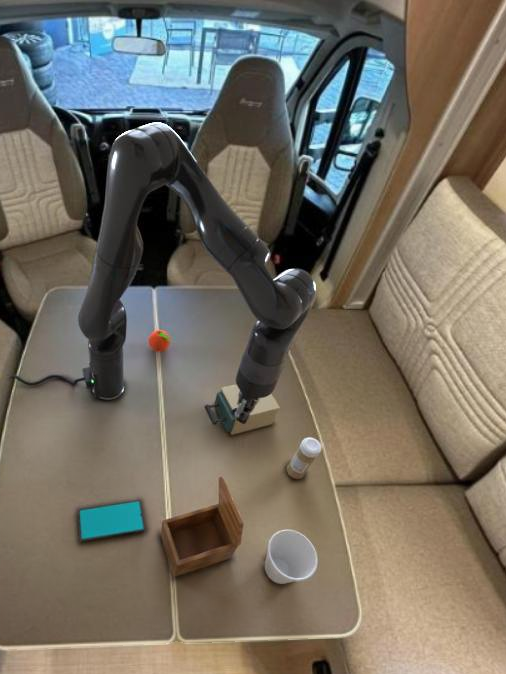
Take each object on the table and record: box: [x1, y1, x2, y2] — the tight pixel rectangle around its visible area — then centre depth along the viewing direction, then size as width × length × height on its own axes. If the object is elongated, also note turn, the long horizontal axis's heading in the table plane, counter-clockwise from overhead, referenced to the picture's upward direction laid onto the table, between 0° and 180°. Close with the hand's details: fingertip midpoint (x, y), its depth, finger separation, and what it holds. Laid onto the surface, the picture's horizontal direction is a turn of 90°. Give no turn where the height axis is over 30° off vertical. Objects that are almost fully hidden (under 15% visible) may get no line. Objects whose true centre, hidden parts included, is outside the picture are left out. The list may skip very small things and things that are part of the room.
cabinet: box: [219, 384, 281, 436], centre depth 116 cm, size 13×11×8 cm
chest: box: [159, 503, 239, 578], centre depth 91 cm, size 14×10×9 cm
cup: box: [264, 529, 319, 585], centre depth 88 cm, size 10×10×11 cm
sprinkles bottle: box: [286, 437, 323, 480], centre depth 102 cm, size 5×5×14 cm
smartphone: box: [77, 499, 146, 543], centre depth 97 cm, size 7×1×15 cm
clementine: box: [148, 329, 172, 353], centre depth 132 cm, size 8×7×7 cm
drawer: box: [203, 391, 235, 433], centre depth 115 cm, size 16×9×6 cm, turn 107°
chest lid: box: [218, 475, 245, 546], centre depth 83 cm, size 14×10×1 cm
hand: (241, 419), depth 90 cm, fingers closed
